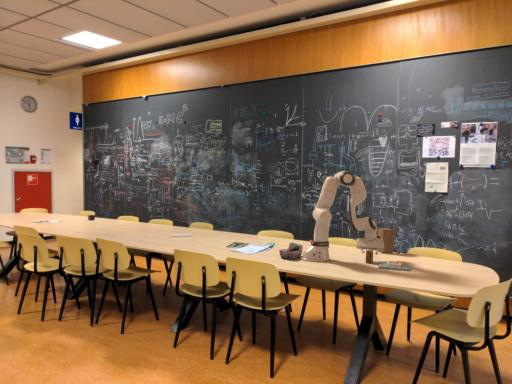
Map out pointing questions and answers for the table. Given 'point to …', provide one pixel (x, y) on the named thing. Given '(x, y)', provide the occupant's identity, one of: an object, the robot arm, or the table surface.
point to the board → (394, 265)
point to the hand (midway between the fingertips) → (369, 253)
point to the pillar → (369, 256)
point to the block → (387, 239)
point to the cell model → (291, 251)
